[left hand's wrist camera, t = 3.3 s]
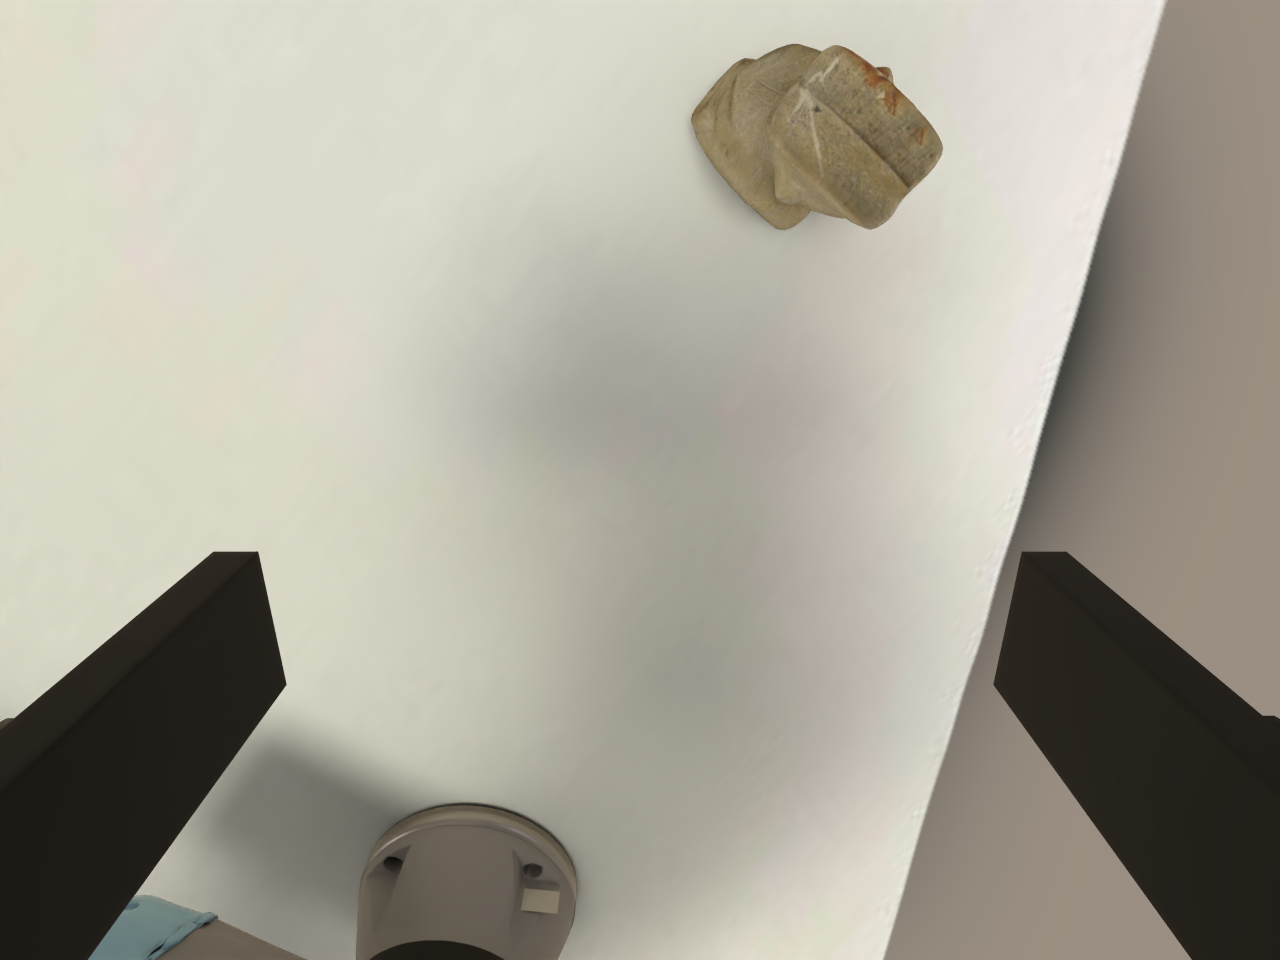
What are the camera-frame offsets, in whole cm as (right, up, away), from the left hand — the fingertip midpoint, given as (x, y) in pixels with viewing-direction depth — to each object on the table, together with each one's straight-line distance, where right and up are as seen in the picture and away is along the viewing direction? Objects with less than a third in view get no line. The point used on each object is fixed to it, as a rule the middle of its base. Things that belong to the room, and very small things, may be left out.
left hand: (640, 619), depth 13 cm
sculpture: (+6, +18, +23) cm, 30 cm away
